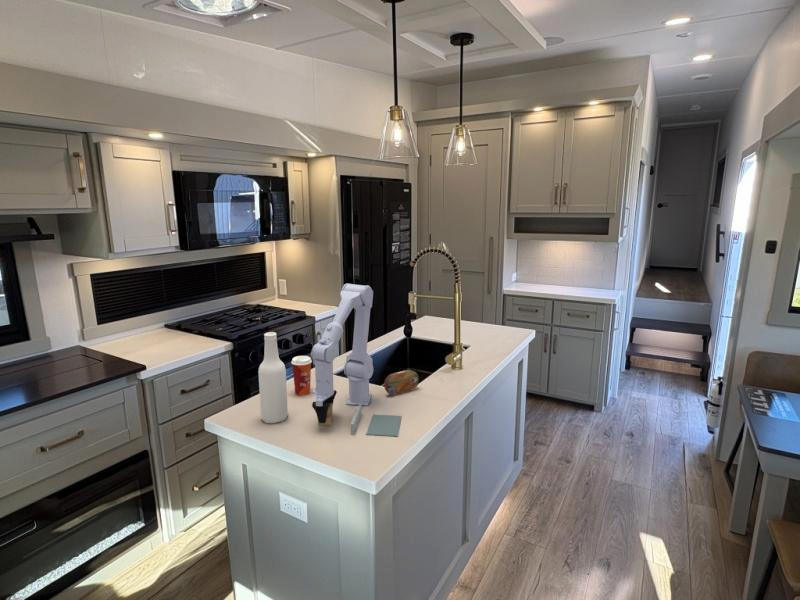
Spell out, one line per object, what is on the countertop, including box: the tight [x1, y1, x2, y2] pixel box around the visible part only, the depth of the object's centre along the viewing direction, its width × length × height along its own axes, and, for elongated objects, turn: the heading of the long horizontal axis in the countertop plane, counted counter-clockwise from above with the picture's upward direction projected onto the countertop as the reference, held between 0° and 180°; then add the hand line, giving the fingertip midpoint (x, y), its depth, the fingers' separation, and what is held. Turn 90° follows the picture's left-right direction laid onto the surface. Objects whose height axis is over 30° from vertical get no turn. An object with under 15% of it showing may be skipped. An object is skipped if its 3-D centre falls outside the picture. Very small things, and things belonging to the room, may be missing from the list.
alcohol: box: [257, 331, 289, 424], centre depth 151 cm, size 9×9×30 cm
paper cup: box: [290, 355, 313, 396], centre depth 174 cm, size 8×8×14 cm
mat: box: [365, 413, 403, 438], centre depth 149 cm, size 14×10×1 cm
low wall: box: [350, 405, 363, 435], centre depth 150 cm, size 14×1×4 cm, turn 175°
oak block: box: [317, 403, 334, 426], centre depth 151 cm, size 4×4×6 cm
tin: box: [383, 369, 420, 397], centre depth 176 cm, size 15×3×8 cm, turn 124°
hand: (325, 417), depth 151 cm, fingers open, 7 cm apart
